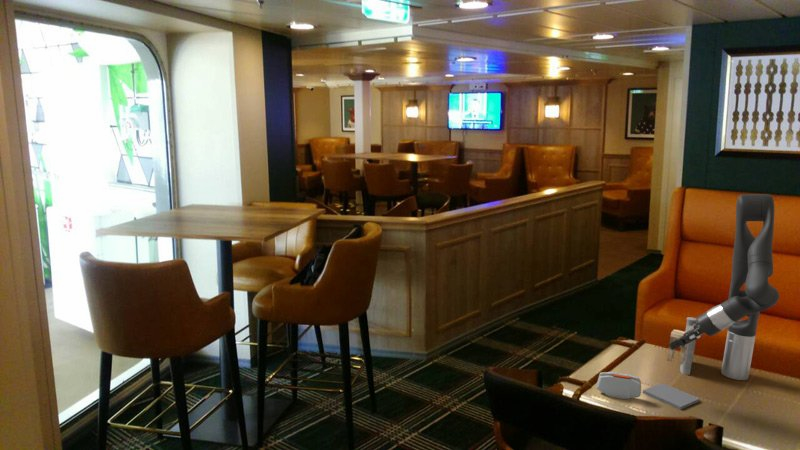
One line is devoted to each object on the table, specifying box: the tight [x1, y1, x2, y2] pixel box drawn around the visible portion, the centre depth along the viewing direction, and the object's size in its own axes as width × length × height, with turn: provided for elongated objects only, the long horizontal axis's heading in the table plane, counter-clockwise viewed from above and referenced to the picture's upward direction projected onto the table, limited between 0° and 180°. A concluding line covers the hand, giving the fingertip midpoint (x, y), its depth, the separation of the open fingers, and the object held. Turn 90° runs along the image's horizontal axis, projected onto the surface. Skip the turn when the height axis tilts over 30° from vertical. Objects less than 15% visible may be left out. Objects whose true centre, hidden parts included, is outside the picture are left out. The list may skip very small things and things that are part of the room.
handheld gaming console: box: [596, 371, 642, 400], centre depth 214 cm, size 14×3×8 cm, turn 74°
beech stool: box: [666, 329, 687, 365], centre depth 213 cm, size 5×5×10 cm
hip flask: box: [679, 316, 698, 376], centre depth 241 cm, size 16×4×20 cm, turn 152°
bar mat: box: [642, 382, 701, 410], centre depth 216 cm, size 12×14×1 cm
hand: (672, 345), depth 214 cm, fingers closed on beech stool, 4 cm apart
